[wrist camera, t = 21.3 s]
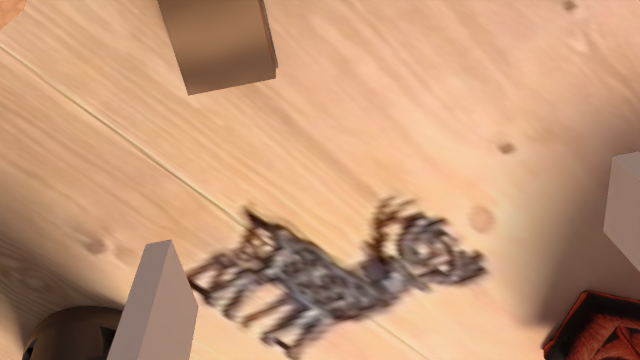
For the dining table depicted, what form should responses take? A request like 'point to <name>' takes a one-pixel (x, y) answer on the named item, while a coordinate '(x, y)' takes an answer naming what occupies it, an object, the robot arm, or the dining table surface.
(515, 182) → the dining table surface
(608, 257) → the dining table surface
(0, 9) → the milkshake
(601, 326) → the vase
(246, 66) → the body
